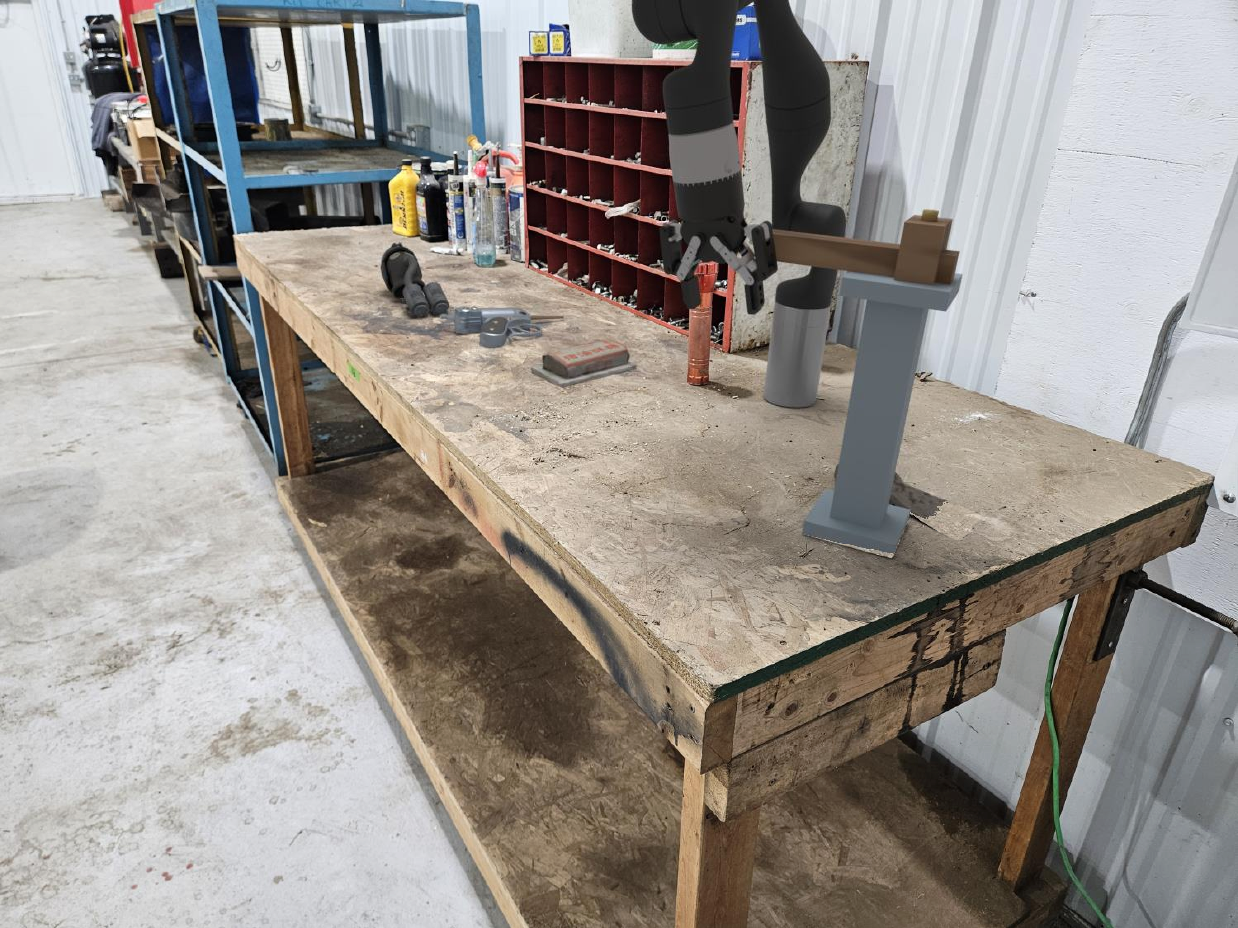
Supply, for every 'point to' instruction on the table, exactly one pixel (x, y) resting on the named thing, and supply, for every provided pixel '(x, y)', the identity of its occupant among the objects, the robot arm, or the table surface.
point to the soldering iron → (495, 323)
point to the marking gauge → (879, 251)
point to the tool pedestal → (877, 411)
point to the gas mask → (411, 283)
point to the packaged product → (584, 363)
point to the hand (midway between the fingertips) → (723, 309)
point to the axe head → (911, 498)
